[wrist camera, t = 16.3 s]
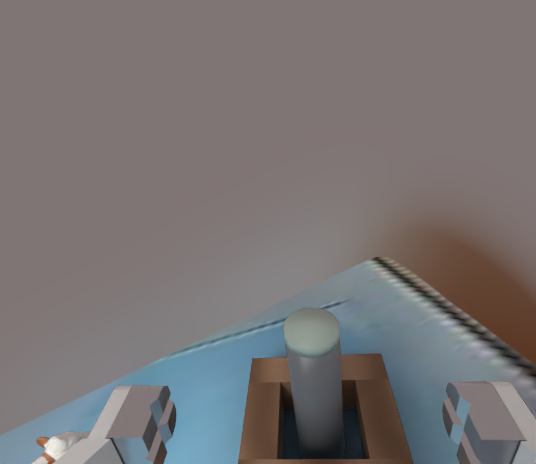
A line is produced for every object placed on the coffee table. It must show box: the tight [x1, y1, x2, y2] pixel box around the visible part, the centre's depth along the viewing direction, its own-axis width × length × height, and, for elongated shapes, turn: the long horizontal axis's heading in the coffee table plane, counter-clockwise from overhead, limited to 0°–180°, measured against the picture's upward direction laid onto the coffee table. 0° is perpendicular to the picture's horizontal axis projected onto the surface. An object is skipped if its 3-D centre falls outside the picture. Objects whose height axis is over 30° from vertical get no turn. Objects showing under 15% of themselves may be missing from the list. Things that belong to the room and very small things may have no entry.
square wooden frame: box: [238, 354, 413, 464], centre depth 30 cm, size 13×13×4 cm
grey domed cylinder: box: [283, 308, 344, 459], centre depth 27 cm, size 4×4×14 cm
